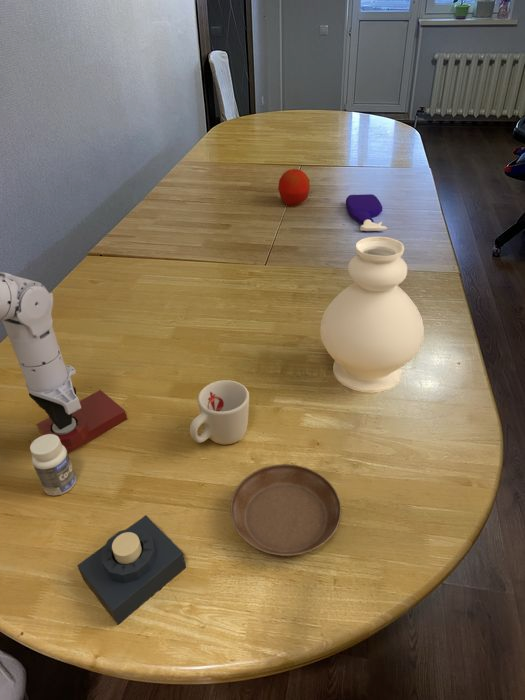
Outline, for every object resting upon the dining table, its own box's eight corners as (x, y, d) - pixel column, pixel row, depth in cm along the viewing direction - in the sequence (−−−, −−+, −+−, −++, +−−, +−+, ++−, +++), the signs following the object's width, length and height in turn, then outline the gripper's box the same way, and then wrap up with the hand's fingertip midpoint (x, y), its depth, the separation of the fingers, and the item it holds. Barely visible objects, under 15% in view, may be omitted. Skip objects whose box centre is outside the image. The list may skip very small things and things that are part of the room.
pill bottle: (71, 496, 75) (55, 456, 70) (39, 496, 75) (21, 456, 70) (81, 471, 79) (66, 431, 74) (50, 471, 79) (34, 431, 74)
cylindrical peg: (124, 569, 60) (121, 561, 59) (109, 552, 62) (106, 544, 61) (147, 551, 62) (144, 543, 61) (132, 535, 64) (129, 527, 63)
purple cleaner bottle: (344, 194, 166) (353, 225, 146) (378, 193, 165) (392, 224, 146) (343, 203, 167) (353, 235, 148) (377, 202, 167) (391, 233, 147)
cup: (212, 469, 78) (206, 431, 73) (179, 443, 83) (172, 406, 78) (261, 431, 84) (259, 394, 79) (228, 409, 89) (224, 373, 84)
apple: (312, 207, 166) (313, 171, 159) (281, 210, 165) (281, 173, 158) (306, 197, 174) (306, 162, 167) (276, 199, 173) (275, 164, 166)
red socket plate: (61, 464, 80) (54, 446, 78) (34, 435, 85) (27, 417, 83) (131, 422, 87) (127, 404, 85) (102, 398, 92) (97, 380, 90)
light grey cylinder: (62, 445, 80) (58, 436, 79) (51, 433, 82) (48, 425, 81) (83, 433, 82) (80, 424, 81) (72, 422, 84) (68, 413, 83)
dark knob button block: (117, 625, 59) (108, 602, 57) (83, 580, 64) (73, 556, 61) (186, 567, 65) (181, 543, 62) (149, 529, 70) (143, 506, 67)
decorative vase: (339, 335, 106) (345, 218, 91) (426, 357, 99) (449, 233, 84) (303, 385, 93) (305, 259, 79) (401, 414, 86) (422, 281, 72)
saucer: (278, 460, 79) (278, 447, 77) (361, 511, 71) (362, 499, 69) (209, 523, 70) (207, 511, 69) (294, 591, 62) (294, 578, 60)
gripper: (90, 363, 71) (110, 433, 79) (42, 325, 80) (65, 392, 88) (42, 387, 67) (68, 459, 75) (-3, 344, 76) (25, 413, 84)
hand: (64, 424), depth 81 cm, fingers closed, pressing on light grey cylinder
